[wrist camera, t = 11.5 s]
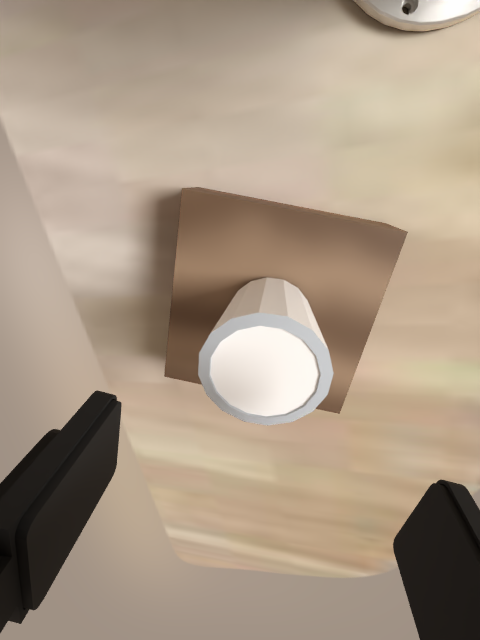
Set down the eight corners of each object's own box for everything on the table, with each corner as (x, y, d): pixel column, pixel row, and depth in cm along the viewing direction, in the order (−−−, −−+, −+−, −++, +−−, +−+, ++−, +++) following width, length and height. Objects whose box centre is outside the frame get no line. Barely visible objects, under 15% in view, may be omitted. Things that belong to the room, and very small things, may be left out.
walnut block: (200, 187, 25) (182, 188, 20) (383, 222, 24) (407, 232, 20) (181, 347, 30) (164, 376, 26) (330, 378, 30) (339, 413, 25)
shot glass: (226, 358, 25) (206, 426, 18) (214, 271, 22) (186, 316, 15) (319, 357, 24) (332, 428, 17) (320, 265, 21) (336, 310, 14)
